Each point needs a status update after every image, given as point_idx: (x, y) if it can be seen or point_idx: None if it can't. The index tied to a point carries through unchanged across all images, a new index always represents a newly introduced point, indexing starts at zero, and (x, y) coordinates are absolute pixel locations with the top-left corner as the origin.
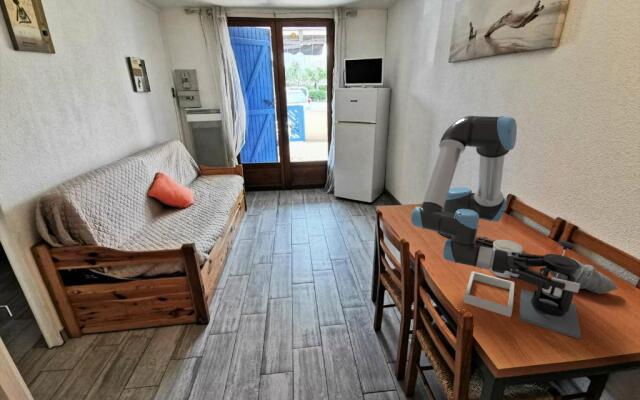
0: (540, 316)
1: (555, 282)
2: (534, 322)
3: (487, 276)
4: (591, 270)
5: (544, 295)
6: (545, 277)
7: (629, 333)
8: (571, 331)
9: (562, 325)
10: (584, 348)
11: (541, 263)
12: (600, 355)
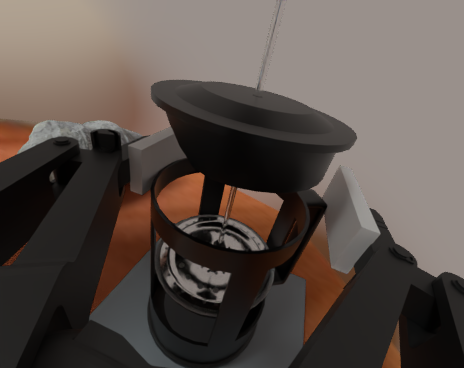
0: (253, 362)
1: (385, 238)
2: None
3: None
4: (119, 129)
5: (157, 284)
6: (395, 269)
7: (247, 199)
8: (296, 293)
9: (278, 304)
10: (333, 294)
11: (117, 190)
12: (337, 274)
